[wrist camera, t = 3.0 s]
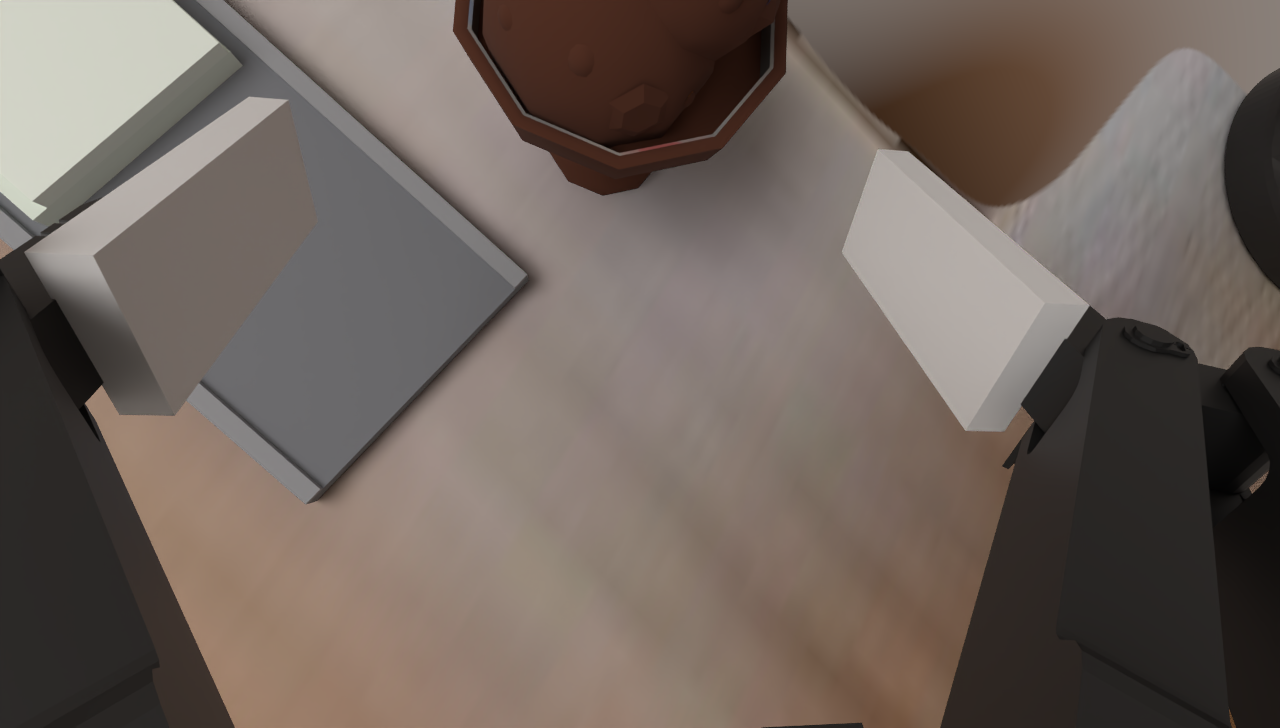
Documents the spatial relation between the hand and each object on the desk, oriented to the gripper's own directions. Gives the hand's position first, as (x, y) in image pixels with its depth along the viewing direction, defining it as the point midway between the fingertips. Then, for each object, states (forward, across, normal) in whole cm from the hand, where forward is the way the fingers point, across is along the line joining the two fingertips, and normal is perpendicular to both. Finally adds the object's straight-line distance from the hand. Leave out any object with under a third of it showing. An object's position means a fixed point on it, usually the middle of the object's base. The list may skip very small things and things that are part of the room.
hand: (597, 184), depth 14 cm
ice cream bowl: (+16, +1, -4) cm, 16 cm away
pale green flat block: (+16, -21, -4) cm, 26 cm away
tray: (+12, -16, -7) cm, 21 cm away
